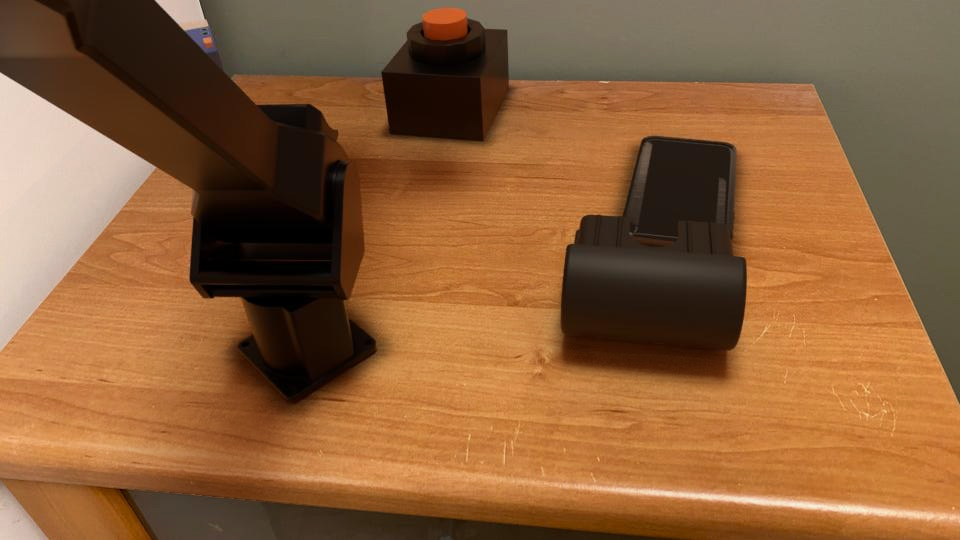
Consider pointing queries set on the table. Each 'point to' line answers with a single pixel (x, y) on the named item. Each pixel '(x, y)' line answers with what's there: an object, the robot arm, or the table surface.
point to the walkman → (203, 38)
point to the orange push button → (445, 24)
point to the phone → (680, 187)
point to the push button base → (447, 84)
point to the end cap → (654, 285)
